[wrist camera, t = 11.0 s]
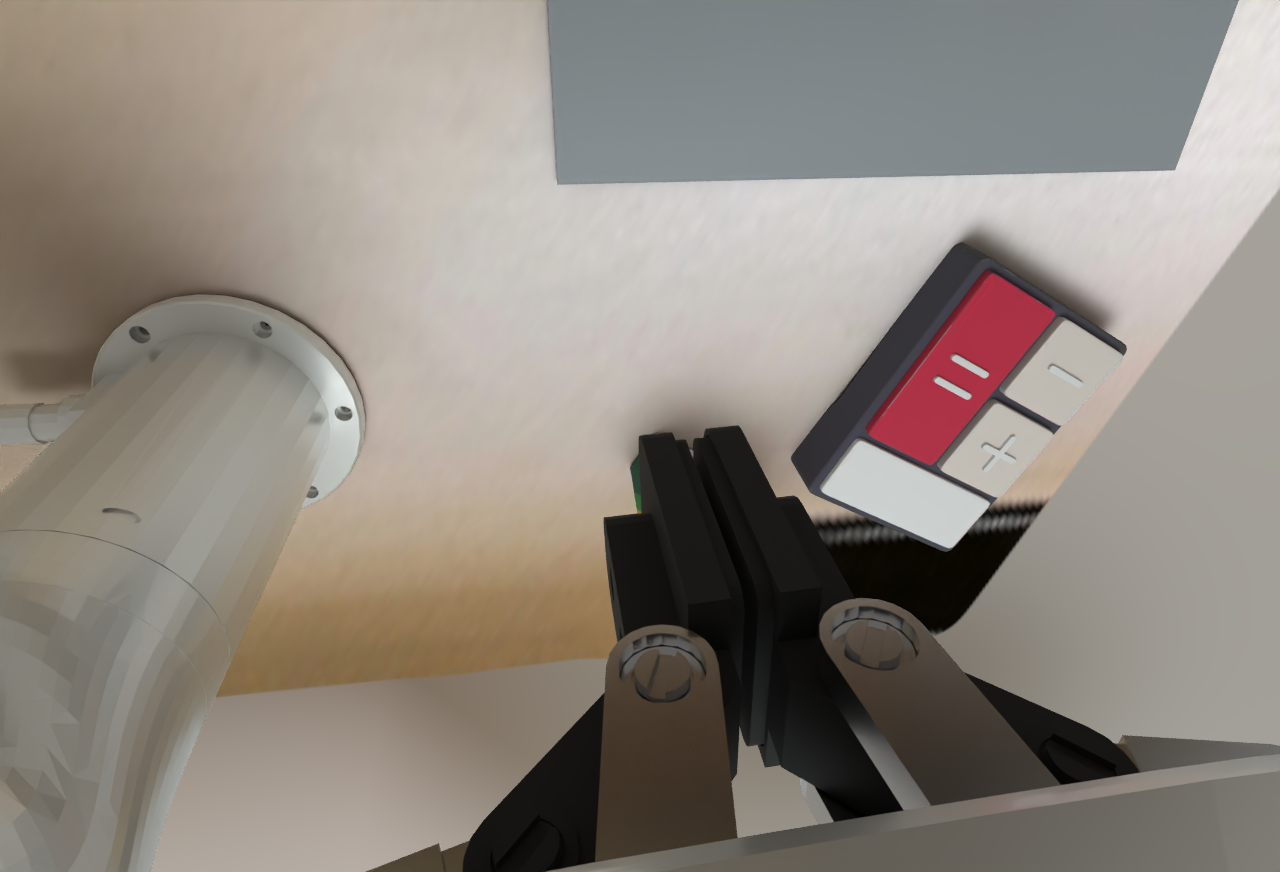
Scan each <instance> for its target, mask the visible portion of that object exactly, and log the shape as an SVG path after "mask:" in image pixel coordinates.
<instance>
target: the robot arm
mask: <svg viewBox="0 0 1280 872" xmlns="http://www.w3.org/2000/svg"><path fill="white" fill-rule="evenodd" d="M264 322H266V323H267V324H269V325H270V326H267V325H265V324H264ZM344 406H345V407H344ZM346 407H348V408H346ZM364 435H365V413H364V407H363V401H362V398H361V395H360V393H359V390H358V388H357V385H356V383H355V380H354V378H353V377H352V375H351V373H350V372H349V370H348V369H347V367H346V366H345V364H344V363H343V361H342V360H341V358H340V357H339V356H338V355H337V354H336V353H335V352H334V351H333V350H332V349H331V348H330V347H329V345H328V344H327V343H326V342H325V341H324V340H322V339H321V338H320V337H319V336H317V335H316V334H315V333H314V332H312V331H311V330H310V329H308V328H307V327H306V326H305V325H303V324H301V323H300V322H298V321H296V320H294V319H292V318H291V317H289V316H287V315H285V314H284V313H282V312H280V311H277V310H275V309H272V308H270V307H267V306H264V305H262V304H259V303H256V302H254V301H249V300H245V299H240V298H235V297H230V296H225V295H205V294H196V295H188V296H180V297H173V298H170V299H167V300H164V301H160V302H157V303H154V304H151V305H149V306H147V307H146V308H144V309H142V310H140V311H139V312H137V313H135V314H134V315H132V316H130V317H129V318H128V319H127V320H126V321H125V322H124V323H122V324H121V325H120V326H119V327H118V328H117V329H115V330H114V331H113V332H112V334H111V335H110V336H109V337H108V339H107V340H106V341H105V343H104V344H103V345H102V347H101V348H100V350H99V353H98V356H97V358H96V361H95V363H94V366H93V371H92V381H91V390H90V391H89V392H88V393H87V394H86V395H71V396H69V397H67V398H65V399H64V400H63V401H62V403H61V404H47V405H45V404H44V403H38V404H17V405H0V445H3V446H12V445H31V444H45V443H47V442H52V441H54V442H52V443H51V444H50V445H49V446H48V447H47V448H46V449H45V450H44V451H43V452H42V453H41V454H40V455H39V456H38V457H37V458H36V459H35V460H34V461H33V462H32V463H31V464H30V465H29V466H28V467H27V468H26V469H24V470H23V471H22V472H21V473H20V474H19V475H18V476H17V477H16V478H15V479H14V480H13V481H12V482H11V483H10V484H9V485H8V486H7V487H6V488H5V489H4V490H3V491H2V492H1V493H0V872H151V869H152V865H153V861H154V857H155V853H156V850H157V846H158V843H159V840H160V837H161V834H162V830H163V827H164V824H165V821H166V817H167V814H168V811H169V808H170V805H171V802H172V800H173V797H174V794H175V792H176V789H177V786H178V784H179V781H180V778H181V776H182V773H183V770H184V768H185V765H186V763H187V761H188V758H189V756H190V754H191V751H192V749H193V747H194V744H195V742H196V739H197V737H198V735H199V732H200V730H201V728H202V725H203V723H204V721H205V718H206V716H207V714H208V712H209V709H210V707H211V705H212V703H213V701H214V699H215V696H216V694H217V692H218V690H219V687H220V685H221V683H222V681H223V678H224V676H225V673H226V671H227V669H228V667H229V665H230V663H231V661H232V658H233V656H234V654H235V652H236V650H237V647H238V645H239V643H240V641H241V639H242V636H243V634H244V632H245V630H246V628H247V625H248V623H249V621H250V619H251V617H252V614H253V612H254V610H255V608H256V606H257V603H258V601H259V599H260V597H261V595H262V592H263V590H264V588H265V586H266V584H267V581H268V579H269V577H270V575H271V573H272V570H273V568H274V566H275V564H276V562H277V560H278V557H279V555H280V553H281V551H282V549H283V546H284V544H285V542H286V540H287V538H288V535H289V533H290V531H291V529H292V527H293V524H294V522H295V520H296V518H297V516H298V513H299V511H300V509H303V508H306V507H308V506H310V505H312V504H314V503H316V502H318V501H320V500H322V499H324V498H326V497H327V496H328V495H329V494H331V493H332V492H333V491H334V490H336V489H337V488H338V487H339V486H340V485H341V484H342V483H343V481H344V480H345V479H346V478H347V476H348V475H349V474H350V473H351V471H352V469H353V467H354V465H355V462H356V460H357V458H358V456H359V453H360V450H361V447H362V444H363V440H364ZM639 464H640V488H641V513H639V514H630V515H622V516H613V517H604V536H605V549H606V561H607V571H608V580H609V588H610V596H611V603H612V610H613V616H614V622H615V629H616V635H617V644H616V645H615V647H614V648H613V649H612V651H611V652H610V654H609V658H608V662H607V666H606V677H605V693H604V694H603V695H602V696H601V697H600V698H599V699H598V700H597V701H596V702H595V703H594V704H593V705H592V706H591V707H590V709H589V710H588V711H587V712H586V713H585V714H584V715H583V716H582V717H581V718H580V719H579V720H578V721H577V722H576V723H575V724H574V725H573V727H572V728H571V729H570V730H569V731H568V732H567V733H566V734H565V735H564V736H563V737H562V738H561V739H560V740H559V741H558V743H556V745H555V746H554V747H553V748H552V749H551V750H550V751H549V752H548V753H547V754H546V755H545V756H544V757H543V758H542V759H541V760H540V761H539V763H537V765H536V766H535V767H534V768H533V769H532V770H531V771H530V772H529V773H528V774H527V775H526V776H525V777H524V778H523V779H522V780H521V782H520V783H519V784H518V785H517V786H516V787H515V788H514V789H513V790H512V791H511V792H510V793H509V794H508V795H507V796H506V797H505V798H504V799H503V801H502V802H501V803H500V804H499V805H498V806H497V807H496V808H495V809H494V810H493V811H492V812H491V813H490V814H489V815H488V816H487V817H486V819H485V820H484V821H483V822H482V823H481V825H480V826H479V827H478V829H477V830H476V832H475V833H474V834H473V836H472V837H471V839H470V841H467V842H465V843H462V844H459V845H457V846H454V847H452V848H449V849H447V850H444V851H441V848H440V845H439V843H438V844H436V845H433V846H431V847H428V848H426V849H423V850H420V851H418V852H415V853H413V854H410V855H408V856H405V857H402V858H400V859H398V860H395V861H392V862H390V863H387V864H384V865H382V866H379V867H377V868H374V869H372V870H369V871H366V872H1280V746H1277V745H1272V744H1258V743H1242V742H1224V741H1209V740H1193V739H1176V738H1159V737H1143V736H1126V735H1125V736H1124V735H1122V737H1121V739H1120V741H1119V743H1118V744H1115V743H1112V741H1110V740H1109V739H1108V738H1106V737H1105V736H1103V735H1101V734H1100V733H1098V732H1096V731H1094V730H1092V729H1091V728H1089V727H1087V726H1085V725H1082V724H1080V723H1078V722H1076V721H1073V720H1071V719H1069V718H1066V717H1064V716H1062V715H1060V714H1057V713H1055V712H1053V711H1051V710H1048V709H1046V708H1044V707H1042V706H1039V705H1037V704H1035V703H1032V702H1030V701H1028V700H1026V699H1023V698H1021V697H1019V696H1017V695H1014V694H1012V693H1010V692H1008V691H1005V690H1003V689H1001V688H998V687H996V686H994V685H992V684H989V683H987V682H985V681H983V680H981V679H978V678H976V677H974V676H971V675H969V674H967V673H965V672H963V671H962V669H961V668H960V667H959V666H958V665H957V664H956V662H955V661H954V660H953V659H952V658H951V657H950V656H949V654H948V653H947V652H946V651H945V650H944V649H943V647H942V646H941V645H940V644H939V643H938V642H937V640H936V639H935V638H934V637H933V636H932V635H931V633H930V632H929V631H928V630H927V629H926V628H925V626H924V625H923V624H922V623H921V622H920V621H918V620H917V619H916V618H915V617H914V616H913V615H912V614H911V613H909V612H907V611H905V610H904V609H902V608H900V607H898V606H896V605H894V604H891V603H887V602H884V601H881V600H876V599H865V598H859V599H855V598H854V596H853V594H852V592H851V591H850V589H849V587H848V585H847V583H846V582H845V580H844V578H843V576H842V574H841V573H840V571H839V569H838V567H837V566H836V564H835V562H834V560H833V558H832V557H831V555H830V553H829V551H828V549H827V548H826V546H825V544H824V542H823V540H822V539H821V537H820V535H819V533H818V531H817V530H816V528H815V526H814V524H813V523H812V521H811V519H810V517H809V515H808V514H807V512H806V510H805V508H804V506H803V505H802V503H801V502H800V500H799V499H798V497H795V496H786V497H777V498H776V496H775V494H774V492H773V490H772V488H771V486H770V484H769V482H768V480H767V478H766V476H765V474H764V472H763V470H762V469H761V467H760V465H759V463H758V461H757V459H756V457H755V455H754V453H753V451H752V449H751V447H750V445H749V443H748V441H747V439H746V437H745V435H744V434H743V432H742V430H741V428H740V427H739V426H728V427H718V428H708V429H706V430H705V433H704V438H695V439H694V442H693V457H692V455H691V452H690V449H689V447H688V444H687V442H686V440H676V441H675V438H674V435H673V433H671V432H670V433H661V434H651V435H641V436H639ZM739 726H740V729H741V732H742V736H743V739H744V741H745V743H746V745H747V746H754V745H758V747H759V750H760V753H761V756H762V759H763V762H764V766H765V767H771V766H778V765H781V767H783V768H784V769H786V770H788V771H789V772H791V773H793V774H795V775H797V776H798V777H800V780H801V781H800V783H801V786H800V787H801V789H802V792H803V795H804V798H805V800H806V802H807V804H808V806H809V808H810V810H811V812H812V814H813V816H814V818H815V819H816V821H817V823H818V825H813V826H807V827H802V828H795V829H789V830H783V831H778V832H771V833H766V834H760V835H753V836H747V837H742V838H738V837H737V828H736V818H735V809H734V800H733V791H732V782H731V781H732V780H733V778H734V777H735V775H736V774H737V761H738V742H739Z"/></svg>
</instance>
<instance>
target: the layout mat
mask: <svg viewBox="0 0 1280 872" xmlns="http://www.w3.org/2000/svg"><path fill="white" fill-rule="evenodd" d="M1238 1H1239V0H547V6H548V24H549V42H550V60H551V78H552V96H553V114H554V132H555V150H556V168H557V184H601V183H644V182H687V181H731V180H774V179H817V178H860V177H904V176H947V175H990V174H1034V173H1077V172H1120V171H1163V170H1175V169H1176V166H1177V163H1178V161H1179V158H1180V155H1181V153H1182V150H1183V147H1184V145H1185V142H1186V139H1187V137H1188V134H1189V131H1190V129H1191V126H1192V123H1193V121H1194V118H1195V115H1196V113H1197V110H1198V107H1199V105H1200V102H1201V99H1202V97H1203V94H1204V91H1205V89H1206V86H1207V83H1208V81H1209V78H1210V75H1211V73H1212V70H1213V67H1214V65H1215V62H1216V59H1217V57H1218V54H1219V51H1220V49H1221V46H1222V44H1223V41H1224V38H1225V36H1226V33H1227V30H1228V28H1229V25H1230V22H1231V20H1232V17H1233V14H1234V12H1235V9H1236V6H1237V4H1238Z"/></svg>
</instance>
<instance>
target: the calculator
mask: <svg viewBox="0 0 1280 872" xmlns="http://www.w3.org/2000/svg"><path fill="white" fill-rule="evenodd" d="M1126 350H1127V348H1126V345H1125V344H1124V343H1122V342H1121V341H1119V340H1118V339H1116V338H1115V337H1113V336H1112V335H1110V334H1108V333H1107V332H1105V331H1104V330H1102V329H1101V328H1099V327H1098V326H1096V325H1095V324H1093V323H1091V322H1090V321H1088V320H1087V319H1085V318H1084V317H1082V316H1081V315H1079V314H1077V313H1076V312H1074V311H1073V310H1071V309H1070V308H1068V307H1067V306H1065V305H1063V304H1062V303H1060V302H1059V301H1057V300H1056V299H1054V298H1053V297H1051V296H1050V295H1048V294H1046V293H1045V292H1043V291H1042V290H1040V289H1039V288H1037V287H1036V286H1034V285H1032V284H1031V283H1029V282H1028V281H1026V280H1025V279H1023V278H1022V277H1020V276H1018V275H1017V274H1015V273H1014V272H1012V271H1011V270H1009V269H1008V268H1006V267H1004V266H1003V265H1001V264H1000V263H998V262H997V261H995V260H994V259H992V258H990V257H988V256H987V255H985V254H983V253H981V252H979V251H977V250H975V249H974V248H972V247H970V246H968V245H966V244H964V243H959V244H957V245H955V246H954V247H953V248H952V249H951V250H950V252H949V253H948V254H947V255H946V257H945V258H944V259H943V261H942V262H941V263H940V264H939V266H938V267H937V268H936V270H935V271H934V272H933V274H932V275H931V276H930V277H929V279H928V280H927V281H926V283H925V284H924V285H923V286H922V288H921V289H920V290H919V292H918V293H917V294H916V296H915V297H914V298H913V299H912V301H911V302H910V303H909V305H908V306H907V307H906V309H905V310H904V311H903V313H902V314H901V315H900V317H899V318H898V319H897V321H896V322H895V323H894V325H893V326H892V327H891V329H890V330H889V332H888V333H887V334H886V336H885V337H884V338H883V340H882V341H881V342H880V344H879V345H878V347H877V348H876V349H875V351H874V352H873V353H872V355H871V356H870V358H869V359H868V360H867V362H866V363H865V364H864V366H863V367H862V368H861V370H860V371H859V373H858V374H857V375H856V377H855V378H854V379H853V381H852V382H851V384H850V385H849V386H848V388H847V389H846V390H845V392H844V393H843V394H842V396H841V397H840V398H839V400H838V401H837V402H836V403H834V404H833V405H831V406H830V407H829V408H828V409H827V411H826V412H825V413H824V415H823V416H822V417H821V418H820V420H819V421H818V422H817V424H816V425H815V426H814V427H813V429H812V430H811V431H810V433H809V434H808V435H807V437H806V438H805V439H804V440H803V442H802V443H801V444H800V446H799V447H798V448H797V449H796V451H795V452H794V454H793V455H792V457H791V460H792V462H793V464H794V466H795V468H796V469H797V471H798V473H799V474H800V476H801V478H802V480H803V481H804V483H805V485H806V486H807V488H808V490H809V491H810V493H812V494H814V495H816V496H818V497H820V498H823V499H825V500H827V501H830V502H832V503H834V504H836V505H839V506H841V507H843V508H846V509H848V510H850V511H852V512H855V513H857V514H859V515H862V516H864V517H866V518H868V519H871V520H873V521H875V522H878V523H880V524H882V525H884V526H887V527H889V528H891V529H894V530H896V531H898V532H900V533H903V534H905V535H907V536H910V537H912V538H914V539H916V540H919V541H921V542H923V543H926V544H928V545H930V546H932V547H935V548H937V549H939V550H942V551H950V550H951V549H952V548H953V547H954V546H955V545H956V544H957V543H958V542H959V541H960V540H961V539H962V537H963V536H964V535H965V534H966V533H967V532H968V531H969V530H970V528H971V527H972V526H973V525H974V524H975V523H976V522H977V521H978V519H979V518H980V517H981V516H982V515H983V514H984V513H985V511H986V510H987V509H988V508H989V507H990V506H991V505H992V504H993V502H994V501H995V500H996V499H997V498H998V497H1000V496H1002V495H1003V494H1004V493H1005V492H1006V490H1007V489H1008V488H1009V487H1010V486H1011V485H1012V484H1013V483H1014V481H1015V480H1016V479H1017V478H1018V477H1019V476H1020V475H1021V473H1022V472H1023V471H1024V470H1025V469H1026V468H1027V467H1028V466H1029V464H1030V463H1031V462H1032V461H1033V460H1034V459H1035V458H1036V457H1037V455H1038V454H1039V453H1040V452H1041V451H1042V450H1043V449H1044V448H1045V446H1046V445H1047V444H1048V443H1049V442H1050V441H1051V439H1052V438H1053V436H1054V434H1055V432H1056V431H1057V430H1058V429H1059V428H1060V427H1061V426H1062V425H1064V424H1065V423H1067V422H1068V421H1069V419H1070V418H1071V417H1072V416H1073V415H1074V414H1075V413H1076V412H1077V410H1078V409H1079V408H1080V407H1081V406H1082V405H1083V404H1084V403H1085V401H1086V400H1087V399H1088V398H1089V397H1090V396H1091V395H1092V393H1093V392H1094V391H1095V390H1096V389H1097V388H1098V387H1099V386H1100V384H1101V383H1102V382H1103V381H1104V380H1105V379H1106V378H1107V377H1108V375H1109V374H1110V373H1111V372H1112V371H1113V370H1114V369H1115V368H1116V366H1117V365H1118V364H1119V363H1120V362H1121V360H1122V359H1123V356H1124V354H1125V353H1126Z"/></svg>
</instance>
